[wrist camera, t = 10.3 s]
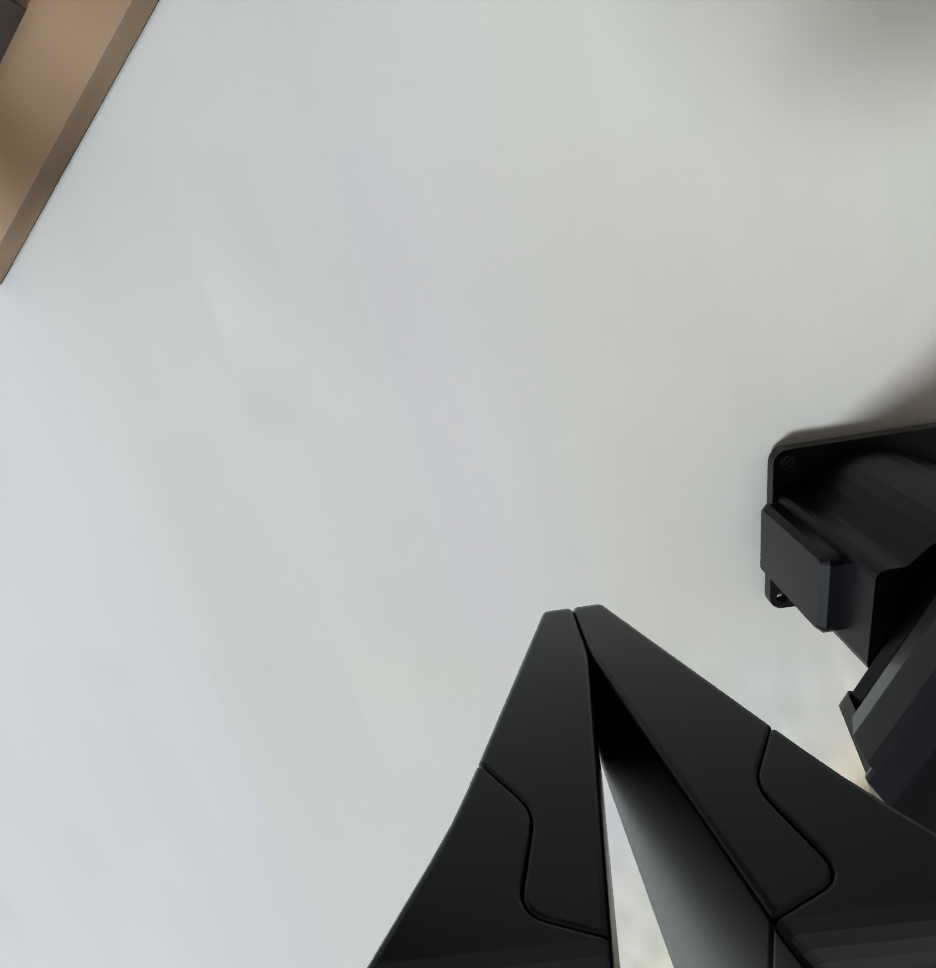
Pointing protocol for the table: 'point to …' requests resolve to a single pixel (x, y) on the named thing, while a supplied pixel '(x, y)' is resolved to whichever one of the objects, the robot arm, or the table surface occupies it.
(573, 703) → the robot arm
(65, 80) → the button stand
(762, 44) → the table surface
